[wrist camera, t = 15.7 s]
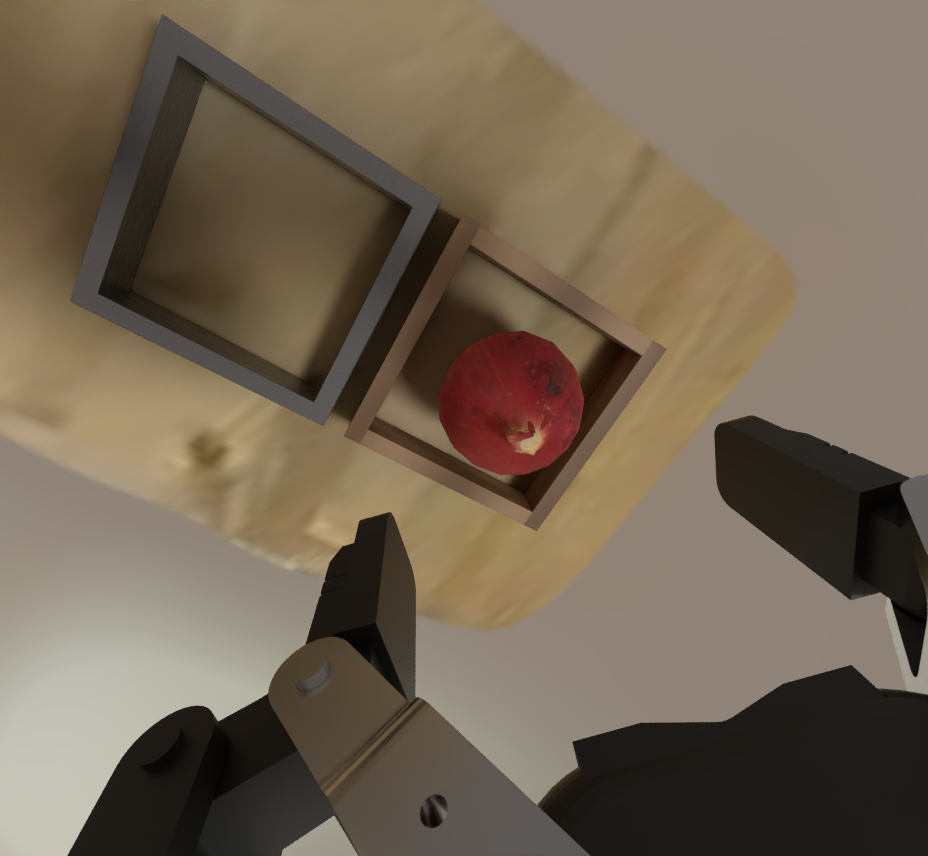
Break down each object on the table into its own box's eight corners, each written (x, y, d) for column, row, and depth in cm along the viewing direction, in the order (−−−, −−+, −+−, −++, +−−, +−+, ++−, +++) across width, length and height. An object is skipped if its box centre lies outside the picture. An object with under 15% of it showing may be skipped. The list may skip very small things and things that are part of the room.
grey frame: (104, 298, 19) (69, 301, 17) (191, 42, 17) (161, 13, 15) (331, 412, 22) (323, 425, 20) (439, 206, 19) (441, 199, 17)
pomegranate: (499, 294, 21) (541, 312, 13) (578, 379, 22) (656, 438, 15) (413, 383, 22) (405, 446, 14) (494, 457, 23) (526, 549, 16)
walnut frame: (350, 421, 22) (343, 435, 20) (459, 219, 19) (463, 214, 18) (528, 511, 25) (536, 531, 23) (646, 342, 22) (666, 349, 20)
